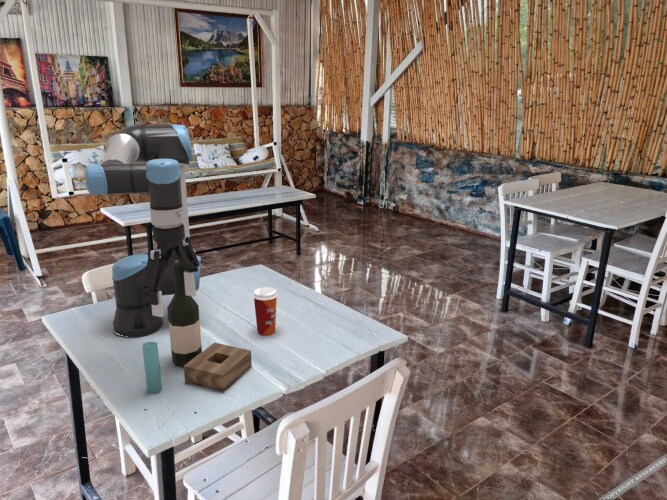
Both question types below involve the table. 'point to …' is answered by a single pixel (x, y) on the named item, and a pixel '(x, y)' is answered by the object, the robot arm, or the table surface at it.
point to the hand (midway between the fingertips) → (175, 305)
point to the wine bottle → (183, 322)
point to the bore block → (218, 367)
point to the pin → (152, 367)
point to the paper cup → (265, 310)
